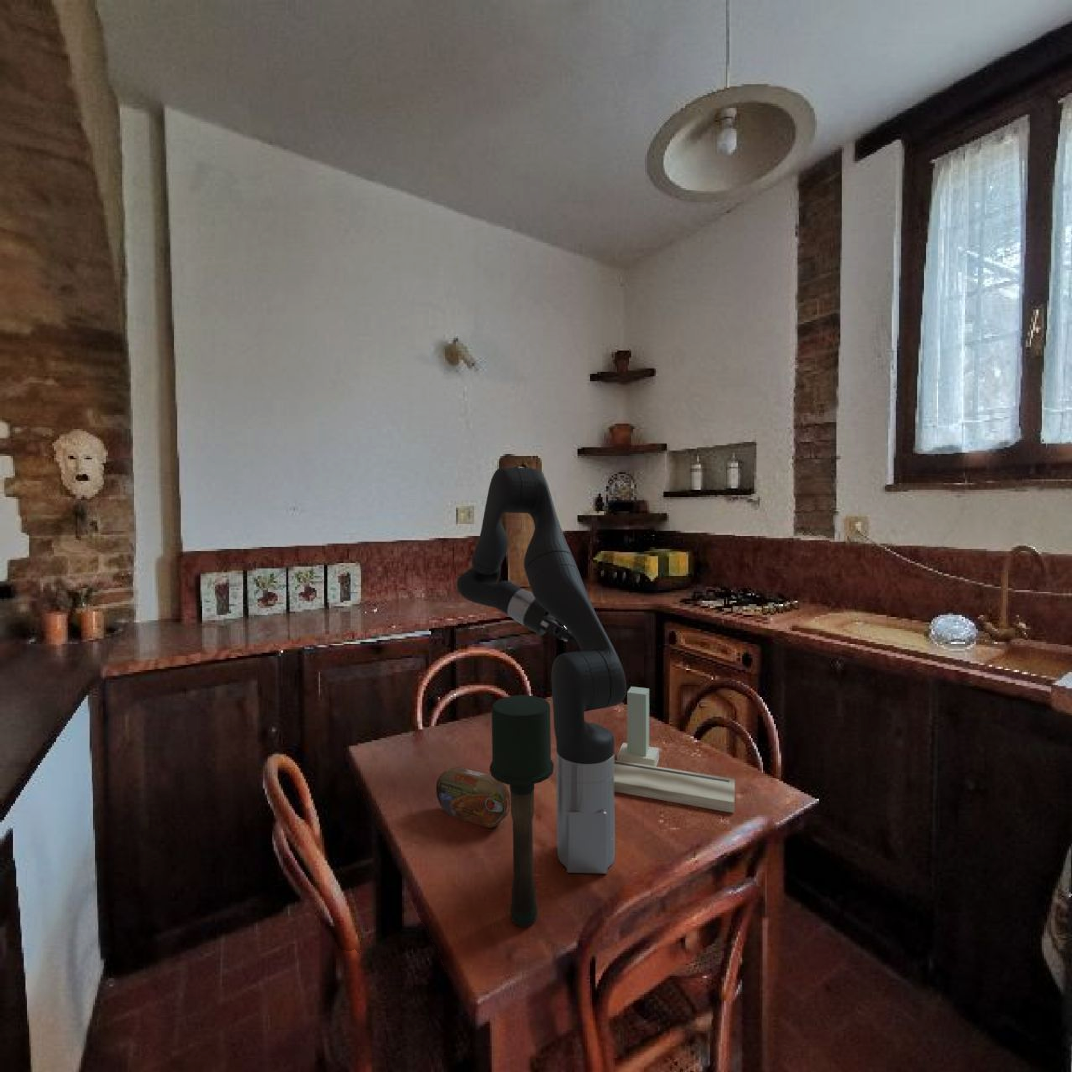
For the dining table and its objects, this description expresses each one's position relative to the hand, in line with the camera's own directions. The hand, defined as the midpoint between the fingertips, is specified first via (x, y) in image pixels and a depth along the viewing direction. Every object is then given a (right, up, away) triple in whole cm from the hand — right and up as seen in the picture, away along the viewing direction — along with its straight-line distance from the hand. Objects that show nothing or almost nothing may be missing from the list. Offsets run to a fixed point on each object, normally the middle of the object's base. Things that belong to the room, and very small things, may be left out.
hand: (591, 645), depth 118 cm
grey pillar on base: (+10, -26, +1) cm, 28 cm away
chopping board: (+13, -26, -10) cm, 31 cm away
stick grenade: (-14, -29, -44) cm, 54 cm away
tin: (-23, -28, -19) cm, 41 cm away
